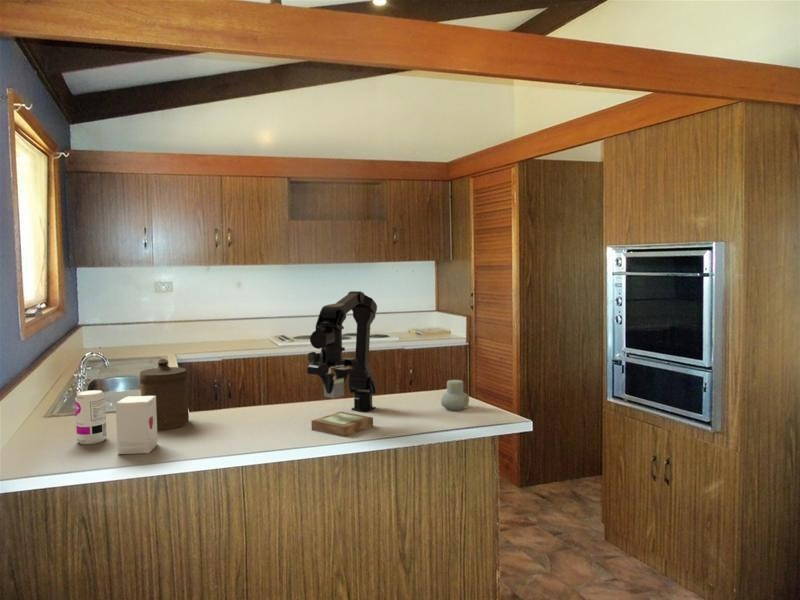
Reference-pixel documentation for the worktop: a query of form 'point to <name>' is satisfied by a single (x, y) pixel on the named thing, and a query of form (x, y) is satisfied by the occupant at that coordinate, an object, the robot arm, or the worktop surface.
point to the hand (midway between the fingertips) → (334, 392)
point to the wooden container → (167, 394)
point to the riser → (342, 423)
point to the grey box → (336, 388)
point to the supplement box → (136, 424)
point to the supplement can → (90, 417)
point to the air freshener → (455, 396)
